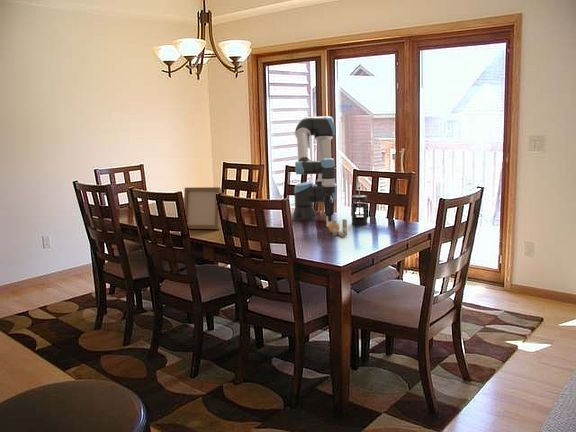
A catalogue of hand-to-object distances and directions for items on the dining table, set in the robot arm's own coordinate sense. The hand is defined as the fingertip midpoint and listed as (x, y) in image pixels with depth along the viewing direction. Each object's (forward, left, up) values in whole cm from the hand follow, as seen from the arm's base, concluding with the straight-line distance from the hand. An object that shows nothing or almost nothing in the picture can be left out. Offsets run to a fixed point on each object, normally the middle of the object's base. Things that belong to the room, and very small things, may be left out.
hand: (329, 226), depth 319 cm
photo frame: (-38, -66, -2) cm, 76 cm away
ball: (+9, 0, +1) cm, 9 cm away
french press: (-8, +23, -2) cm, 24 cm away
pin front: (+13, 0, -1) cm, 13 cm away
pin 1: (+16, -3, -2) cm, 16 cm away
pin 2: (+16, +3, -2) cm, 16 cm away
